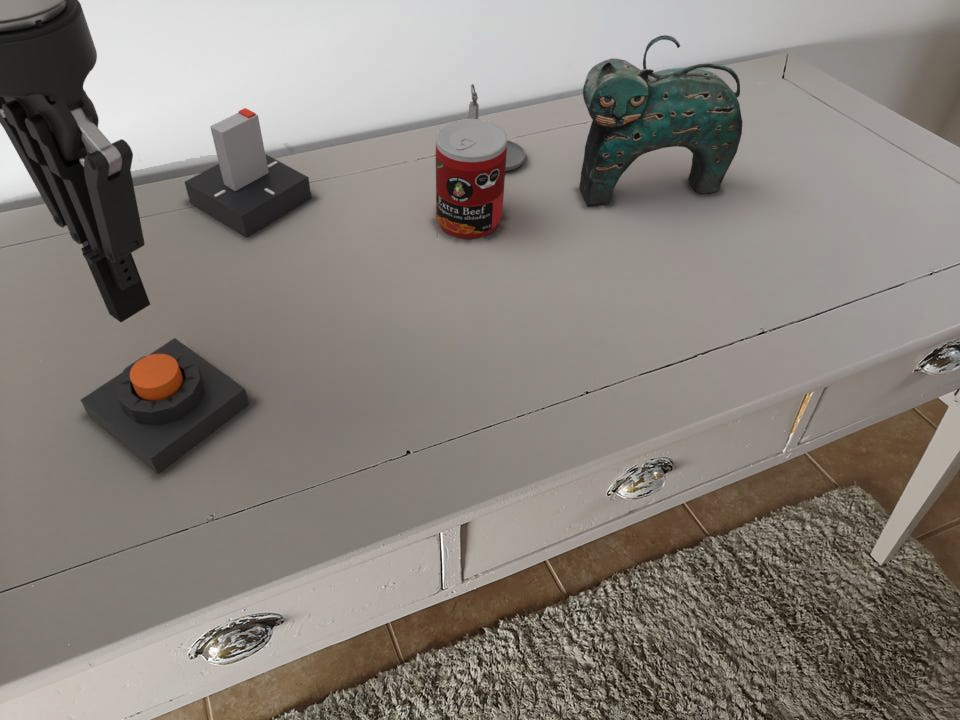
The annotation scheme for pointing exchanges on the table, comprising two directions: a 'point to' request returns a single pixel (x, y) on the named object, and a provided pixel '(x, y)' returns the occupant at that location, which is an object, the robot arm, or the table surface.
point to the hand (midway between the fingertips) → (130, 309)
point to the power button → (156, 377)
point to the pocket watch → (513, 149)
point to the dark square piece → (167, 409)
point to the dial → (240, 149)
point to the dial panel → (249, 196)
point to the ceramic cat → (657, 121)
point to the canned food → (470, 177)
